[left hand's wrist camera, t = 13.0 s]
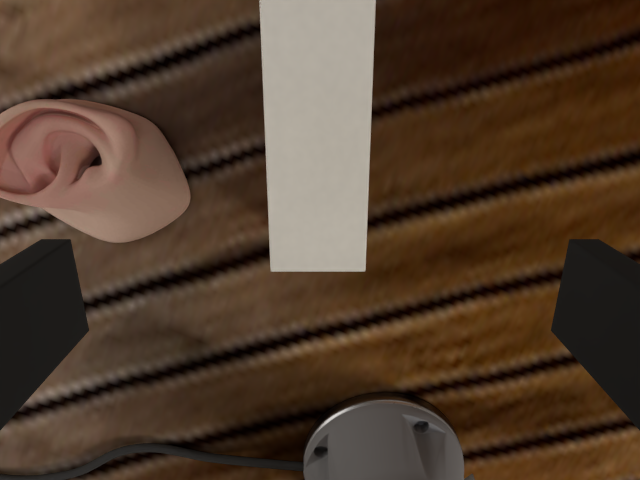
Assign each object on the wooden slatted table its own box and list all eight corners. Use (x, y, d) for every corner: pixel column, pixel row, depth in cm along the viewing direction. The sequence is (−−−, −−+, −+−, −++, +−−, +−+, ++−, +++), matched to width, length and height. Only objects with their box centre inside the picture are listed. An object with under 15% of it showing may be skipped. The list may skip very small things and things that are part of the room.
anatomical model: (202, 191, 31) (104, 296, 34) (214, 178, 35) (125, 274, 38) (37, 44, 28) (-57, 173, 31) (70, 47, 32) (-16, 162, 35)
